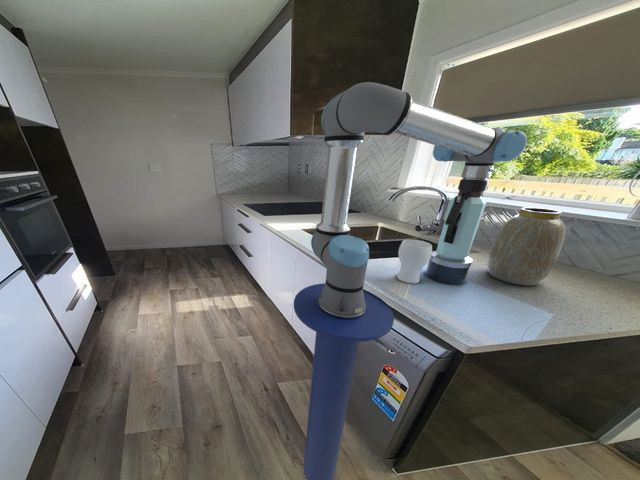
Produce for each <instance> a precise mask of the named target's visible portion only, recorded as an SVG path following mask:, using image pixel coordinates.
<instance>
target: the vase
mask: <svg viewBox="0 0 640 480" xmlns="http://www.w3.org/2000/svg"><path fill="white" fill-rule="evenodd" d="M561 215H562V211H560V210H558V209H557V210H556V209H550V208H542V207H522V208H520V211H519V214H516V215H514V216H511V218H509V219H507V220H506V222H505V223H504V224H503V225H502V226H501V229H500V230H499V231H498V234H497V236H496V237H495V240H494V242H493V245H492V246H491V249H490V251H489V254H488V258H487V261H486V266H487V270H488V273H489V275H490V276H491V277H493V278H495V279H497V280H499V281H502V282H505V283H508V284H512V285H518V286H525V287H526V286H527V287H529V286H531V287H532V286H536V285H538V284H540V283H541V282H543V281H544V280H546V279H547V278H548V277H549V275H550V274H551V272H552V270H553V268H554V266H555V265H556V262H557V261H558V259H559V256H560V253H561V251H562V248H563V245H564V242H565V239H566V233H567V229H566V225H565V223H564V222H563V220H562V219H560V217H561Z"/></svg>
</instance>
